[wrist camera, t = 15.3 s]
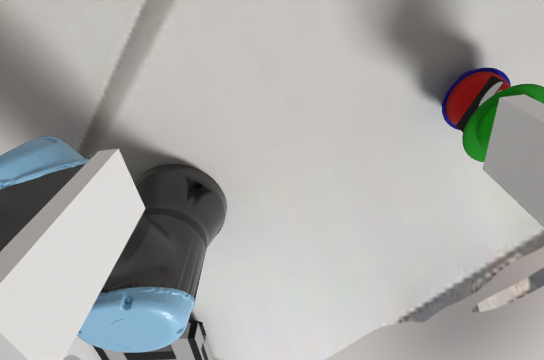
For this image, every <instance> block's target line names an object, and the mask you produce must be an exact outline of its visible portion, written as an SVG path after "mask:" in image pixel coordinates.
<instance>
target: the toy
mask: <svg viewBox="0 0 544 360" xmlns="http://www.w3.org/2000/svg"><path fill="white" fill-rule="evenodd" d="M523 94H525V95H527V96H529V97H531V98H533V99H535V100H537V101H539V102H541V103H543V104H544V87H542V86H539V85H535V84H521V85H516V86H512V87H511V85H510V81H509V79H508V77H507V76H506V75H505V74H504V73H503V72H501V71H500V70H497V69H494V68H480V69H476V70H473V71H468V72H466V73H464V74H463V75H461V76H460V77H459V79H458V80H457V81H456V82H455V83H454V84H453V85H452V86H451V87H450V89H449V90H448V92H447V93H446V95H445V98H444V100H443V105H442V113H443V117H444V119H445V121H446V122H447V123H448V124H449V125H450V126H451V127H453V128H455V129H458V130H461V131H462V132H463V146H464V149H465V151H466V153H467V154H468V155H469V156H470V157H471V158H473V159H475V160H477V161H480V162H485V157H486V153H487V149H488V145H489V141H490V136H491V132H492V128H493V124H494V120H495V115H496V111H497V107H498V103H499V98H500V97H508V96H515V95H523Z"/></svg>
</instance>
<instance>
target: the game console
mask: <svg viewBox="0 0 544 360" xmlns="http://www.w3.org/2000/svg"><path fill="white" fill-rule="evenodd" d="M93 347H94V348H95V350H96V351H97V353H98V354H99V356H100V357H101V359H102V360H214V358H213V355H212V352H211V349H210V346H209V342H208V339H207V336H206V333H205V330H204V327H203V324H202V322H201V323H199V322H188V323H187V326H186V329H185V331H184V332H183V334H182V335H181V336H180V337H179V338H178V339H177V340H176V341H175V342H173V343H171V344H170V345H168V346H166V347H163V348H160V349H157V350H153V351H148V352H137V353H133V352H129V353H128V352H116V351H111V350H106V349H102V348H99V347H96V346H93Z"/></svg>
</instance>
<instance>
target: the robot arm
mask: <svg viewBox="0 0 544 360" xmlns="http://www.w3.org/2000/svg"><path fill="white" fill-rule="evenodd" d="M483 170H484V171H485V172H486V173H487V174H488V175H489V176H490V177H491V178H493V179H494V180H495V181H496V182H497V183H498V184H499V185H500V186H501V187H502V188H503V189H504V190H505V191H506V192H507V193H508V194H509V195H510V196H511V197H512V198H514V199H515V200H516V201H517V202H518V203H519V204H520V205H521V206H522V207H523V208H524V209H525V210H526V211H527V212H528V213H529V214H530V215H531V216H532V217H534V218H535V219H536V220H537V221H538V222H539V223H540V224H541V225H542V226H543V227H544V104H543V103H541V102H539V101H537V100H535V99H533V98H531V97H529V96H527V95H525V94H523V95H515V96H508V97H500V98H499V103H498V107H497V111H496V115H495V120H494V124H493V128H492V132H491V136H490V141H489V145H488V149H487V153H486V157H485V162H484V166H483ZM226 210H227V204H226V199H225V196H224V193H223V192H222V190H221V188H220V187H219V185H218V184H217V183H216V182H215V181H214V180H213V179H212V178H210V177H209V176H208V175H206V174H205V173H203V172H201V171H199V170H197V169H195V168H192V167H188V166H184V165H174V164H172V165H162V166H158V167H155V168H153V169H151V170H149V171H147V172H146V173H145V174H144V175H142V176H141V178H140V179H139V180H138V182H137V183H136V185H135V184H134V182H133V180H132V177H131V175H130V173H129V171H128V169H127V166H126V164H125V162H124V160H123V157H122V155H121V153H120V151H119V148H118V149H110V150H103V151H98V152H97V153H96V154H95V155H94V156H93V157H92V158H91V159H90V160H89V159H86V158H84V157H83V156H82V155H80V154H79V153H78V152H77V151H76V150H74V149H73V148H72V147H71V146H70V145H68V144H67V143H66V142H65V141H63V140H61V139H59V138H57V137H52V136H45V137H39V138H36V139H34V140H31V141H29V142H27V143H25V144H22V145H20V146H18V147H16V148H14V149H12V150H10V151H8V152H6V153H4V154H3V155H1V156H0V360H64V358H65V356H66V354H67V353H68V351H69V349H70V347H71V345H72V343H73V342H74V340H75V338H76V336H77V335H78V336H79V337H80V338H81V339H82V340H84V341H85V342H87V343H89V344H91V345H93V346H96V347H99V348H102V349H106V350H111V351H116V352H128V353H129V352H133V353H137V352H148V351H153V350H157V349H160V348H163V347H166V346H168V345H170V344H171V343H173V342H175V341H176V340H177V339H178V338H179V337H180V336H181V335H182V334H183V332H184V331H185V329H186V326H187V323H188V320H189V317H190V314H191V311H192V310H193V308H194V304H195V298H196V294H197V289H198V285H199V280H200V275H201V271H202V266H203V262H204V257H205V253H206V249H207V247H208V246H209V244H210V243H211V242H212V240H213V239H214V237H215V236H216V235H217V234H218V233H219V231H220V230H221V228H222V226H223V224H224V220H225V216H226Z"/></svg>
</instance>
